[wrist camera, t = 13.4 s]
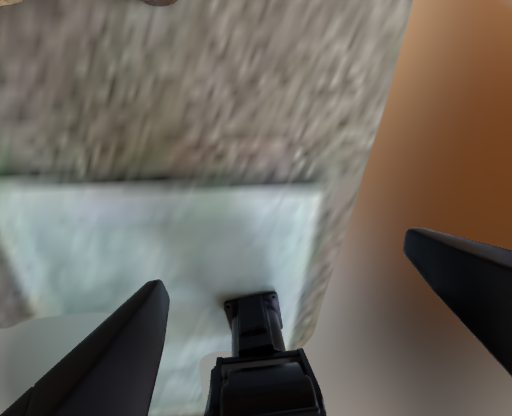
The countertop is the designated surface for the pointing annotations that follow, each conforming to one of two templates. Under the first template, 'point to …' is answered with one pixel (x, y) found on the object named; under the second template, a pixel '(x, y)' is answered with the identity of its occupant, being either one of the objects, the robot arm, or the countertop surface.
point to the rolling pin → (9, 2)
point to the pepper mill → (159, 2)
